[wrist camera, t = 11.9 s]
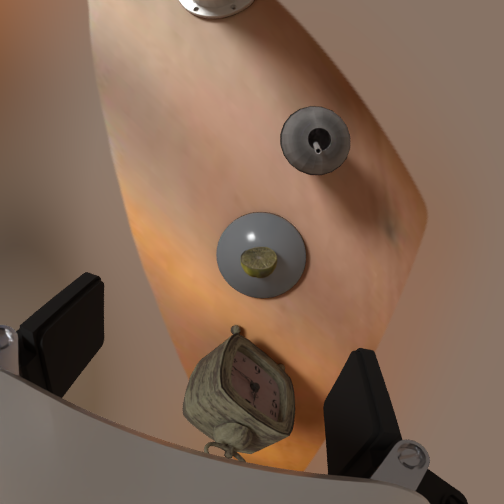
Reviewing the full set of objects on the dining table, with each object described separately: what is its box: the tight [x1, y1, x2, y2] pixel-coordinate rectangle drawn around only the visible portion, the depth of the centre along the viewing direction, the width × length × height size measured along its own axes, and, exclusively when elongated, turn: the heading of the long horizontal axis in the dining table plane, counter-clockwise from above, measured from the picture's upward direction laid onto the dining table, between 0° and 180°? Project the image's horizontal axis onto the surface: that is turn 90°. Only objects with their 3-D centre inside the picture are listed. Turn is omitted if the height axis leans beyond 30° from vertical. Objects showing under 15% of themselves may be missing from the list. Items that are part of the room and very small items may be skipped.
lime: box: [240, 247, 277, 278], centre depth 44 cm, size 4×5×5 cm
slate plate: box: [217, 212, 306, 298], centre depth 47 cm, size 13×13×1 cm
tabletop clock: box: [183, 325, 295, 462], centre depth 42 cm, size 14×9×25 cm, turn 45°
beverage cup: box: [280, 106, 350, 175], centre depth 32 cm, size 7×7×20 cm
